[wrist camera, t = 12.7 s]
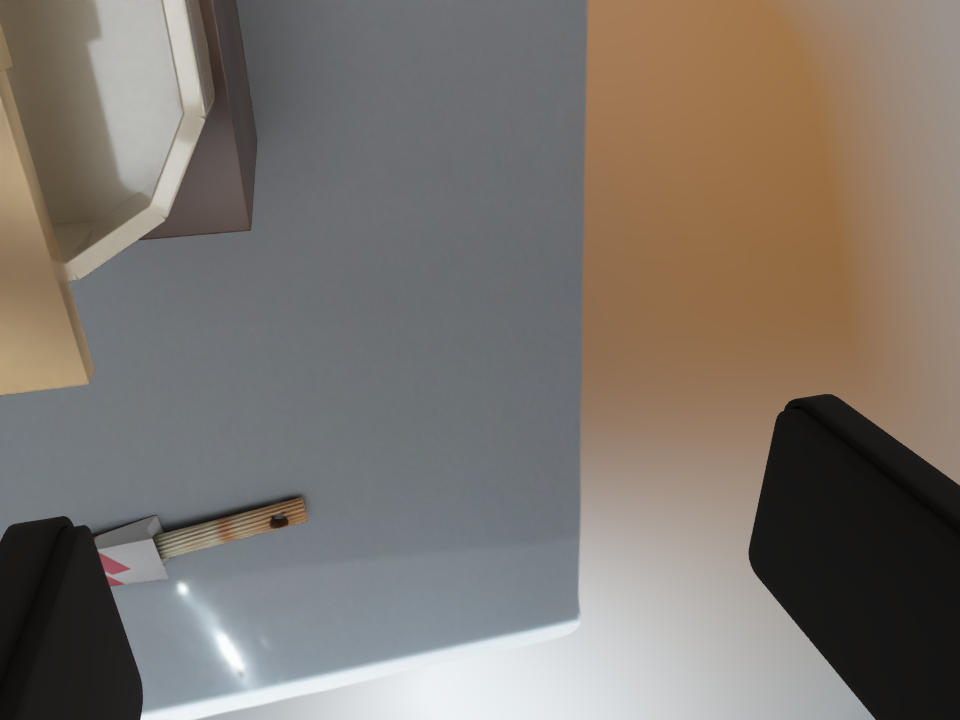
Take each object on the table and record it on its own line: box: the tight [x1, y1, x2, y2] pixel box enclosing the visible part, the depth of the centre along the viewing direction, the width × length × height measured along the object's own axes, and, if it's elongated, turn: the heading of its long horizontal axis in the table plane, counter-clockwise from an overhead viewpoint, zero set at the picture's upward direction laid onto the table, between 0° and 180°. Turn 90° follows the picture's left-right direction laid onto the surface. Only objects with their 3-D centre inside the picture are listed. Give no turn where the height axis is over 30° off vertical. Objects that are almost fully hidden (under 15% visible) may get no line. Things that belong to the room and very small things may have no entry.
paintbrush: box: [93, 498, 308, 586], centre depth 52 cm, size 4×3×20 cm
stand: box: [138, 0, 257, 240], centre depth 30 cm, size 13×13×18 cm
